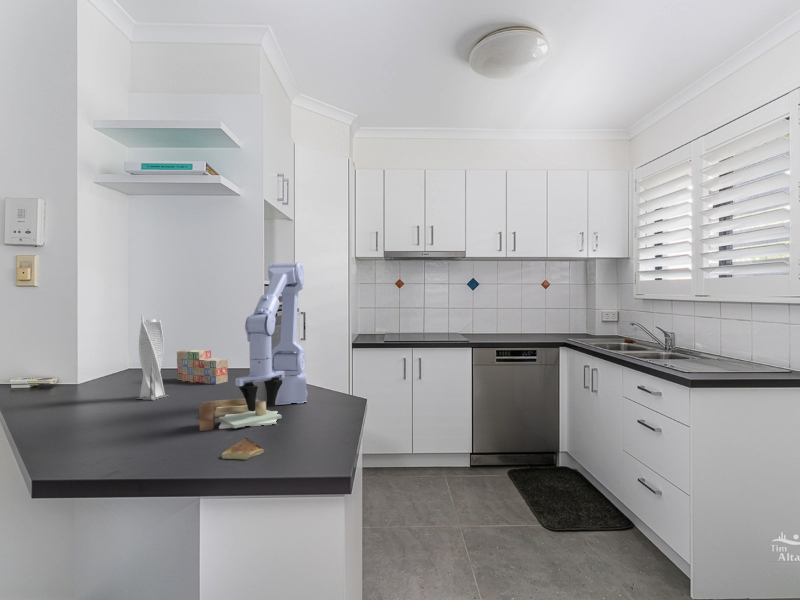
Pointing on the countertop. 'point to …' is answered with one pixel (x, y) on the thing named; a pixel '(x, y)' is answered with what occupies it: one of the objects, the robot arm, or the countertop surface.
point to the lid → (251, 416)
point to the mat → (249, 425)
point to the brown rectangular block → (207, 415)
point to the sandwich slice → (242, 450)
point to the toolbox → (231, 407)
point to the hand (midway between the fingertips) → (261, 408)
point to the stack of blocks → (201, 367)
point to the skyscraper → (151, 359)
